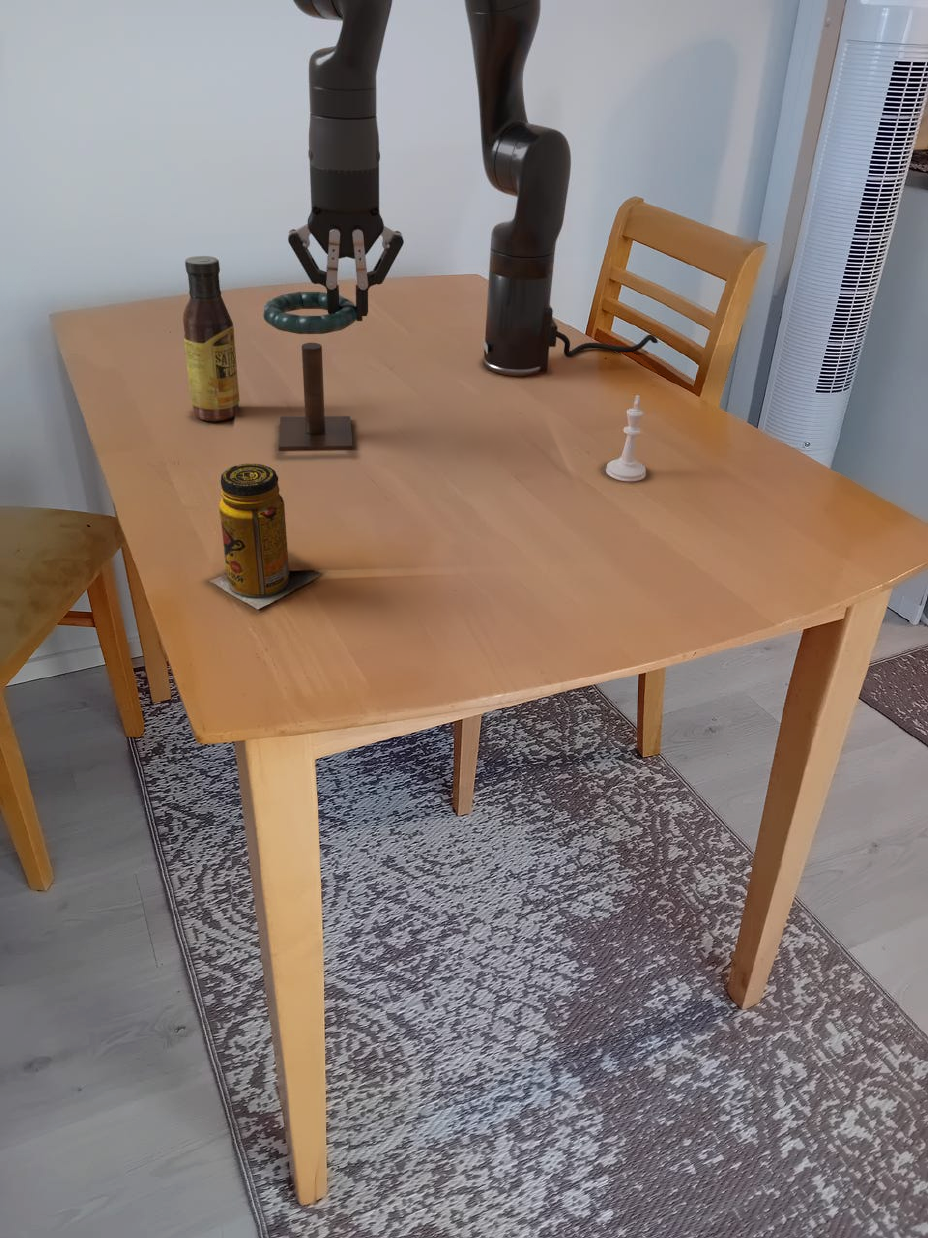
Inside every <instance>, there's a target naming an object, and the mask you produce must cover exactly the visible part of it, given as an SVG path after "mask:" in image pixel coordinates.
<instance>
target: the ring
mask: <svg viewBox="0 0 928 1238" xmlns="http://www.w3.org/2000/svg"><path fill="white" fill-rule="evenodd" d="M299 310H300V311H301V310H323V311H328V308H327V292H324V291H296V292H295V291H294V292H291V293H285V294H279V295H278V296H275V297H274V298H272V299H270V300H268V301H267V302H266V303H265V304H264V307H263V315H262V316H263V320H264V321H265V322H266V323H267V324H268V325H270V326H272V327H273V328H275V329H277V330H278V331H281V332H282V331H283V332H287V333H291V334H295V335H296V334H297V335H325V334H329V333H335V332H339V331H344V329H346V328H348V327H349V326H351V325H353V324H354V323H355V322H357V320H356V319H357V312H356V303H355V302H353V301H351V300H350V299H348V298H346V297H344V296H342V295H340V294H339V311H338V312H336V313H332V314H328V313H327V314H321V315H299V314H292V313H288V312H293V311H299Z"/></svg>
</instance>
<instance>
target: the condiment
mask: <svg viewBox="0 0 928 1238" xmlns="http://www.w3.org/2000/svg"><path fill="white" fill-rule="evenodd" d="M220 485H221V499H220V502H219V506H218V508H219V518H220V525H221V533H222V542H223V553H224V561H225V569H226V573H225V574H223V575H222V574H221V575H220V576H219V577H216V578H214V579H210V580H209V582H211V583H212V584H214V585H215V586H217V587H219V588H220V589H221V590H223V591H225V592H226V593H228V594H229V595H231V596H232V597H234V598H236V599H238V600H239V601H241V602H243V603H245V604H248V605H249V606H251V607H253V608H254V609H255V610H259V609H262V608H263V607H266V606H268V605H270V604H272V603H274V602H275V601H278V600H280V599H281V598H284V597H285V596H288V595H289V594H290V593H292V592H294V591H295V590H297V589H298V588H301V587H303V586H304V585H307V584H309V583H310V582H312V581H313V580H314V579H316V578H318V577H320V576H322V575H323V573H321V572H319V571H316V570H314V569H299V570H290V567H289V566H290V563H289V551H288V550H289V549H288V538H287V537H288V535H287V523H286V509H285V501H284V498H283V496H281V494H280V487H279V476H278V473H277V472H276V470H275V469H274V468H272V467H270V466H268V465H264V464H261V463H242V464H237V465H233V466H231V467H229V468H228V469H226V470H225V471H224V472H223V473H222V474H221V475H220Z"/></svg>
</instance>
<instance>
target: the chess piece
mask: <svg viewBox="0 0 928 1238" xmlns="http://www.w3.org/2000/svg"><path fill="white" fill-rule="evenodd" d="M640 397H641V395H637V394H636V395H635V398H634V402H633V404H632V408H629V409H627V410H626V417H627V423H628V425H626V426H624V428H623V429H622V431H623V433H624V434H626V435H627V436H626V440H625V443H624V447H623V450H622V453H621V456H620V457H618V458H616V459H612V460H610V461H609V462H608V463H606V464H607V465H606V468H605V472H606V474H607V475H608V476H609V477H610V478H612V479H614V480H617V481H622V482H639V481H641V480H644V478H645V477H646V475H647V473H646V470H647V469H646V467H645V465H644V464H643V463H641V462H639V461H637V459H636V436H638V435H640V434H642V430H641V428H640V427H638V426H639V424H640V422H641V420H642V419H643V417H644V411H643V410H642V409H639V404H640V402H641V399H640Z"/></svg>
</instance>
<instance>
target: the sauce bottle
mask: <svg viewBox="0 0 928 1238" xmlns="http://www.w3.org/2000/svg"><path fill="white" fill-rule="evenodd" d="M184 265H185V271H186V274H187V280H188V288H189V290H188V295H189V296H190V297H189V300H188V302H187V304H186V305H185V308H184V311H183V315H182V325H183V341H184V351H185V359H186V369H187V370H186V371H187V379H188V388H189V398H190V403H191V405H192V413H193V415H194V417H196V418H197V419H198V420H202V421H208V422H221V421H225V420H230V419H232V418H234V417H236V414H237V413H236V412H237V411H239V403H240V391H239V378H238V366H237V364H238V363H237V352H236V342H235V329H234V323H233V320H232V318H231V316H230V313H229V310H228V309H227V307H226V303H225V302H224V299H223V297H222V291H221V285H220V284H221V283H220V272H221V267H220V260H219V259H218V258H216V257H214V256H209V255H198V256H197V255H196V256H190V257H187V258H185V260H184Z"/></svg>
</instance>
